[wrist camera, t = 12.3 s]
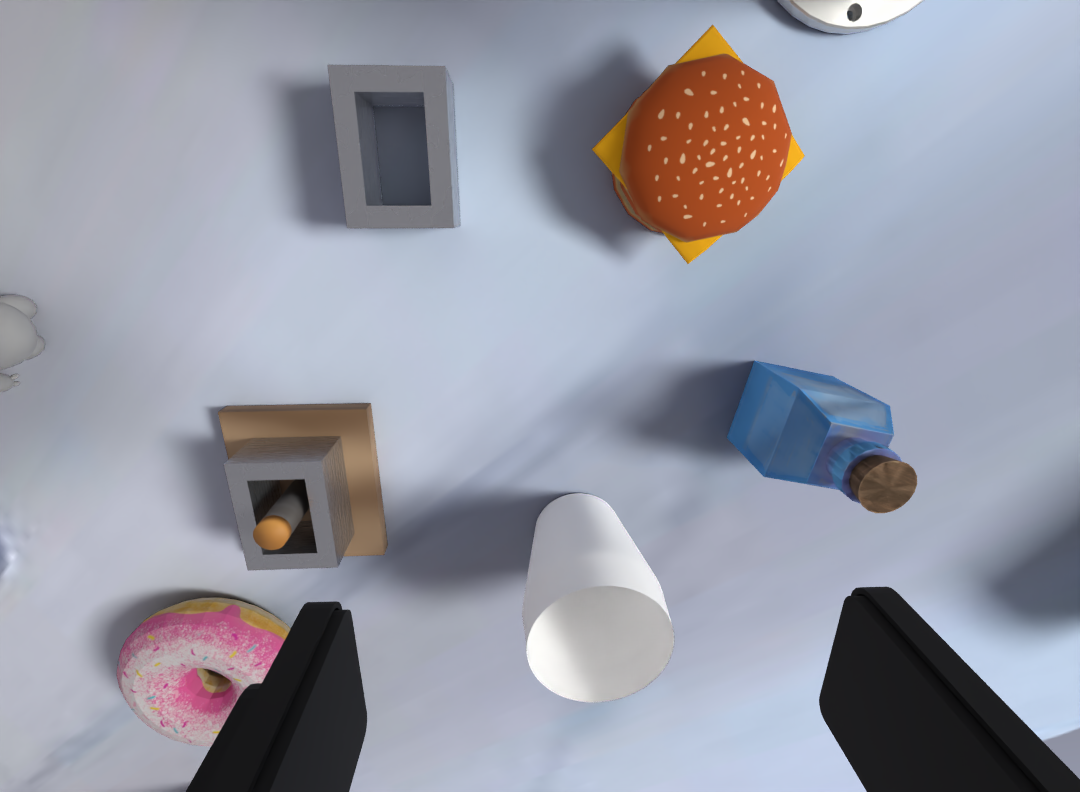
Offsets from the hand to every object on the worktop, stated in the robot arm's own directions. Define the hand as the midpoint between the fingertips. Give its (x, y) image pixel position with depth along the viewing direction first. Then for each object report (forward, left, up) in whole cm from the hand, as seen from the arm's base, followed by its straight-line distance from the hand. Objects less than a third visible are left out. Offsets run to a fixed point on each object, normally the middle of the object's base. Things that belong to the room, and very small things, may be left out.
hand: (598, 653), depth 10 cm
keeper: (+11, -17, -28) cm, 34 cm away
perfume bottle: (+6, +18, -28) cm, 34 cm away
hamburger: (-11, +9, -28) cm, 32 cm away
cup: (+16, +3, -28) cm, 32 cm away
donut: (+27, -26, -28) cm, 47 cm away
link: (+11, -17, -27) cm, 33 cm away
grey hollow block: (-11, -8, -28) cm, 31 cm away
